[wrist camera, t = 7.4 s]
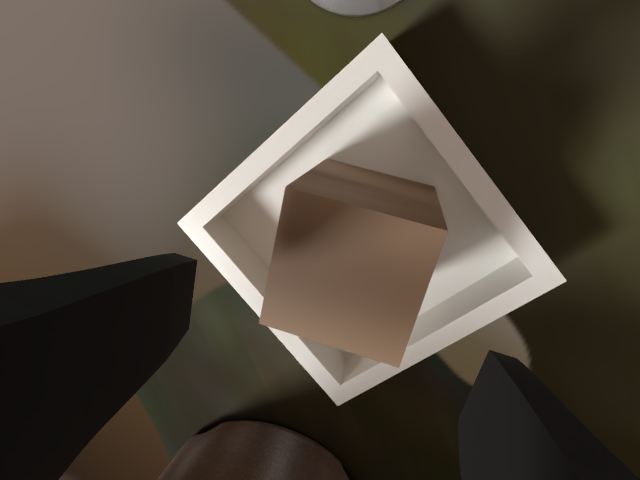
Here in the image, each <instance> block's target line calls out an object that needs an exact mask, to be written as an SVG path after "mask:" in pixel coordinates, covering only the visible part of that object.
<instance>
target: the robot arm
mask: <svg viewBox="0 0 640 480" xmlns="http://www.w3.org/2000/svg"><path fill="white" fill-rule="evenodd" d="M196 266H197V260H195V259H192V258H189V257H186V256H182V255H179V254H176V253H171V254H162V255H156V256H151V257H145V258H141V259H136V260H131V261H126V262H121V263H117V264H112V265H107V266H102V267H98V268H93V269H87V270H82V271H76V272H71V273H65V274H59V275H54V276H48V277H42V278H36V279H30V280H21V281H14V282H6V283H0V480H58V479H59V478H60V477H61V476H62V475H63V473H64V472H65V471H66V470H67V468H68V467H69V466H70V464H71V463H72V462H73V461H74V459H75V458H76V457H77V455H78V454H79V453H80V452H81V451H82V449H83V448H84V447H85V446H86V445H87V444H88V443H89V442H90V440H91V439H92V438H93V437H94V436H95V435H96V434H97V433H98V431H99V430H100V429H101V428H102V427H103V426H104V425H105V424H106V423H107V422H108V421H109V420H110V419H111V418H112V417H113V416H114V415H115V414H116V413H117V412H118V411H119V409H120V408H121V407H122V406H123V405H124V404H125V403H126V402H127V401H128V400H129V399H130V398H131V397H132V396H133V395H134V394H135V393H136V392H137V391H138V390H139V389H140V388H141V387H142V386H143V385H144V384H145V382H146V381H147V380H148V379H149V378H150V377H151V376H152V375H153V374H154V373H155V372H156V371H157V370H158V369H159V368H160V366H161V365H162V364H163V363H164V362H165V361H166V360H167V359H168V357H169V356H170V354H171V353H172V352H173V350H174V349H175V348H176V346H177V345H178V344H179V342H180V341H181V339H182V338H183V336H184V335H185V334H186V332H187V331H188V329H189V323H190V314H191V306H192V298H193V290H194V282H195V274H196V273H195V272H196ZM458 445H459V465H460V472H461V479H462V480H640V479H639V478H638V477H637V476H636V475H635V474H633V473H632V472H631V471H630V470H629V469H628V468H627V467H626V466H625V465H624V464H623V463H622V462H621V461H620V460H619V459H618V458H617V457H615V456H614V455H613V454H612V453H611V452H610V451H609V450H608V449H607V448H606V447H605V446H604V445H603V444H602V443H601V442H600V441H599V440H598V439H597V438H596V437H595V436H594V435H593V434H592V433H591V432H590V431H589V430H588V429H587V428H586V427H585V426H584V425H583V424H582V423H581V422H580V421H579V420H578V419H577V418H576V417H575V416H574V415H573V414H572V413H571V412H570V411H569V410H568V409H567V408H566V407H565V406H564V405H563V404H562V403H561V401H560V400H559V399H558V398H557V397H556V396H555V395H554V394H553V393H552V392H551V391H550V390H549V389H548V388H547V387H546V386H545V385H544V384H543V383H542V382H541V381H540V380H539V379H538V378H537V377H536V376H535V375H534V374H533V373H532V372H531V371H530V370H529V369H528V368H527V367H526V366H525V365H524V364H523V363H522V362H520V361H519V360H518V359H516V358H514V357H510V356H507V355H504V354H501V353H497V352H494V351H491V350H489V352H488V354H487V356H486V358H485V361H484V363H483V365H482V367H481V369H480V372H479V374H478V376H477V378H476V380H475V383H474V385H473V387H472V389H471V391H470V394H469V396H468V398H467V400H466V402H465V405H464V407H463V409H462V411H461V413H460V416H459V418H458Z"/></svg>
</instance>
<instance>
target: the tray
mask: <svg viewBox="0 0 640 480" xmlns="http://www.w3.org/2000/svg"><path fill="white" fill-rule="evenodd" d="M326 158H327V159H331V160H335V161H339V162H343V163H346V164H350V165H354V166H358V167H362V168H366V169H369V170H373V171H377V172H381V173H385V174H389V175H392V176H396V177H400V178H404V179H408V180H412V181H416V182H419V183H423V184H427V185H431V186H435V189H436V192H437V196H438V199H439V202H440V206H441V209H442V212H443V216H444V219H445V222H446V226H447V229H448V233H447V235H446V238H445V241H444V244H443V247H442V249H441V252H440V255H439V258H438V261H437V263H436V266H435V269H434V272H433V275H432V277H431V280H430V283H429V286H428V288H427V291H426V294H425V297H424V300H423V302H422V305H421V308H420V311H419V314H418V316H417V319H416V322H415V325H414V328H413V330H412V333H411V336H410V339H409V341H408V344H407V347H406V350H405V353H404V355H403V358H402V361H401V364H400V367H399V368H397V367H394V366H391V365H388V364H385V363H381V362H378V361H375V360H372V359H369V358H366V357H362V356H359V355H356V354H353V353H350V352H347V351H344V350H340V349H337V348H334V347H331V346H328V345H325V344H321V343H318V342H315V341H312V340H309V339H306V338H303V337H299V336H296V335H293V334H290V333H287V332H284V331H280V330H277V329H274V328H271V327H269V328H270V330H271V331H272V332H273V333H274V334H275V335H276V336H277V338H278V339H279V340H280V341H281V342H282V343H283V344H284V346H285V347H286V348H287V349H288V350H289V351H290V352H291V354H292V355H293V356H294V357H295V358H296V359H297V360H298V362H299V363H300V364H301V365H302V366H303V367H304V368H305V369H306V371H307V372H308V373H309V374H310V375H311V376H312V377H313V379H314V380H315V381H316V382H317V383H318V384H319V385H320V387H321V388H322V389H323V390H324V391H325V392H326V393H327V395H328V396H329V397H330V398H331V399H332V400H333V401H334V402H335V404H336V405H337V406H339V405H341V404H343V403H345V402H346V401H348V400H350V399H352V398H354V397H356V396H357V395H359V394H361V393H363V392H365V391H366V390H368V389H370V388H372V387H374V386H376V385H377V384H379V383H381V382H383V381H385V380H387V379H388V378H390V377H392V376H394V375H396V374H398V373H399V372H401V371H403V370H405V369H407V368H409V367H410V366H412V365H414V364H416V363H418V362H420V361H421V360H423V359H425V358H427V357H429V356H431V355H432V354H434V353H436V352H438V351H440V350H442V349H443V348H445V347H447V346H449V345H451V344H453V343H454V342H456V341H458V340H460V339H462V338H464V337H465V336H467V335H469V334H471V333H472V332H475V331H476V330H478V329H480V328H482V327H484V326H485V325H487V324H489V323H491V322H493V321H495V320H496V319H498V318H500V317H502V316H504V315H506V314H507V313H509V312H511V311H513V310H515V309H517V308H518V307H520V306H522V305H524V304H526V303H528V302H529V301H531V300H533V299H535V298H537V297H539V296H540V295H542V294H544V293H546V292H548V291H550V290H551V289H553V288H555V287H557V286H559V285H561V284H562V283H564V282H566V279H565V278H564V277H563V275H562V274H561V273H560V271H559V270H558V269H557V267H556V266H555V265H554V263H553V262H552V261H551V259H550V258H549V257H548V255H547V254H546V253H545V251H544V250H543V248H542V247H541V246H540V244H539V243H538V242H537V240H536V239H535V238H534V236H533V235H532V234H531V232H530V231H529V230H528V228H527V227H526V226H525V224H524V223H523V222H522V220H521V219H520V218H519V216H518V215H517V214H516V212H515V211H514V209H513V208H512V207H511V205H510V204H509V203H508V201H507V200H506V199H505V197H504V196H503V195H502V193H501V192H500V191H499V189H498V188H497V187H496V185H495V184H494V183H493V181H492V180H491V179H490V177H489V176H488V175H487V173H486V172H485V170H484V169H483V168H482V166H481V165H480V164H479V162H478V161H477V160H476V158H475V157H474V156H473V154H472V153H471V152H470V150H469V149H468V148H467V146H466V145H465V144H464V142H463V141H462V140H461V138H460V137H459V136H458V134H457V133H456V131H455V130H454V129H453V127H452V126H451V125H450V123H449V122H448V121H447V119H446V118H445V117H444V115H443V114H442V113H441V111H440V110H439V109H438V107H437V106H436V105H435V103H434V102H433V101H432V99H431V98H430V97H429V95H428V94H427V93H426V91H425V90H424V88H423V87H422V86H421V84H420V83H419V82H418V80H417V79H416V78H415V76H414V75H413V74H412V72H411V71H410V70H409V68H408V67H407V66H406V64H405V63H404V62H403V60H402V59H401V58H400V56H399V55H398V54H397V52H396V51H395V49H394V48H393V47H392V45H391V44H390V43H389V41H388V40H387V39H386V37H385V36H384V35H383V33H381V34H380V35H379V36H378V37H377V38H376V39H375V40H374V41H373V42H372V43H371V44H370V45H368V46H367V47H366V48H365V49H364V50H363V51H362V52H361V53H360V54H359V55H358V56H357V57H356V58H354V59H353V60H352V61H351V62H350V63H349V64H348V65H347V66H346V67H345V68H344V69H343V70H342V71H340V72H339V73H338V74H337V75H336V76H335V77H334V78H333V79H332V80H331V81H330V82H329V83H328V84H326V85H325V86H324V87H323V88H322V89H321V90H320V91H319V92H318V93H317V94H316V95H315V96H314V97H312V98H311V99H310V100H309V101H308V102H307V103H306V104H305V105H304V106H303V107H302V108H301V109H300V110H299V111H297V112H296V113H295V114H294V115H293V116H292V117H291V118H290V119H289V120H288V121H287V122H286V123H285V124H283V125H282V126H281V127H280V128H279V129H278V130H277V131H276V132H275V133H274V134H273V135H272V136H270V137H269V139H267V140H266V141H265V142H264V143H263V144H262V145H261V146H260V147H259V148H258V149H256V150H255V151H254V152H253V153H252V154H251V155H250V156H249V157H248V158H247V159H246V160H245V161H244V162H243V163H241V164H240V166H238V167H237V168H236V169H235V170H234V171H233V172H232V173H231V174H230V175H228V176H227V177H226V178H225V179H224V180H223V181H222V182H221V183H220V184H219V185H218V186H217V187H216V188H214V189H213V190H212V191H211V192H210V193H209V194H208V195H207V196H206V197H205V198H204V199H203V200H202V201H200V202H199V203H198V204H197V205H196V206H195V207H194V208H193V209H192V210H191V211H190V212H189V213H188V214H187V215H185V216H184V217H183V218H182V219H181V220H180V221H179V222H178V223H177V224H178V225H179V226H180V227H181V228H182V229H183V231H184V232H185V233H186V234H187V235H188V236H189V237H190V239H191V240H192V241H193V242H194V243H195V244H196V245H197V247H198V248H199V249H200V250H201V251H202V252H203V253H204V254H205V256H207V258H208V259H209V260H210V261H211V262H212V264H213V265H214V266H215V267H216V268H217V269H218V270H219V272H220V273H221V274H222V275H223V276H224V277H225V278H226V280H227V281H228V282H229V283H230V284H231V285H232V286H233V288H234V289H235V290H236V291H237V292H238V293H239V294H240V295H241V297H242V298H243V299H244V300H245V301H246V302H247V303H248V305H249V306H250V307H251V308H252V309H253V310H254V311H255V313H256V314H257V315H258V316H259V317H260V315H261V310H262V305H263V299H264V294H265V289H266V284H267V279H268V274H269V269H270V263H271V258H272V253H273V248H274V243H275V238H276V232H277V227H278V222H279V217H280V212H281V207H282V202H283V196H284V191H285V187H286V186H287V185H289V184H290V183H291V182H293V181H294V180H296V179H297V178H299V177H300V176H302V175H303V174H305V173H306V172H307V171H309V170H310V169H312V168H313V167H315V166H316V165H318V164H319V163H321V162H322V161H323V160H325V159H326Z"/></svg>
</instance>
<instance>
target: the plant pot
mask: <svg viewBox="0 0 640 480" xmlns="http://www.w3.org/2000/svg"><path fill="white" fill-rule="evenodd" d="M158 480H349V478H348V476H347V475H346V473H345V471H344V469H343V467H342V464H341V462H340V461H339V460H338V459H337V458H336V457H335V456H334V455H333V454H332V453H331V452H329V451H328V450H326V449H325V448H323V447H322V446H321V445H319V444H318V443H316V442H315V441H313V440H311V439H309V438H307V437H305V436H303V435H301V434H299V433H297V432H295V431H292V430H289V429H287V428H284V427H281V426H277V425H273V424H269V423H265V422H259V421H229V422H223V423H221V424H220V425H218V426H216V427H215V428H213V429H211V430H209V431H207V432H205V433H202V434H195V435H194V436H192V437H191V438H190V439H189V440H188V441H187V442H186V443H185V444H184V445H183V446H182V447H181V448H180V450H179V451H178V453H177V454H176V455H175V457H174V458H173V459H172V461H171V462H170V464H169V465H168V466H167V468H166V469H165V470H164V472H163V473H162V474H161V476H160V477H159V478H158Z"/></svg>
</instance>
